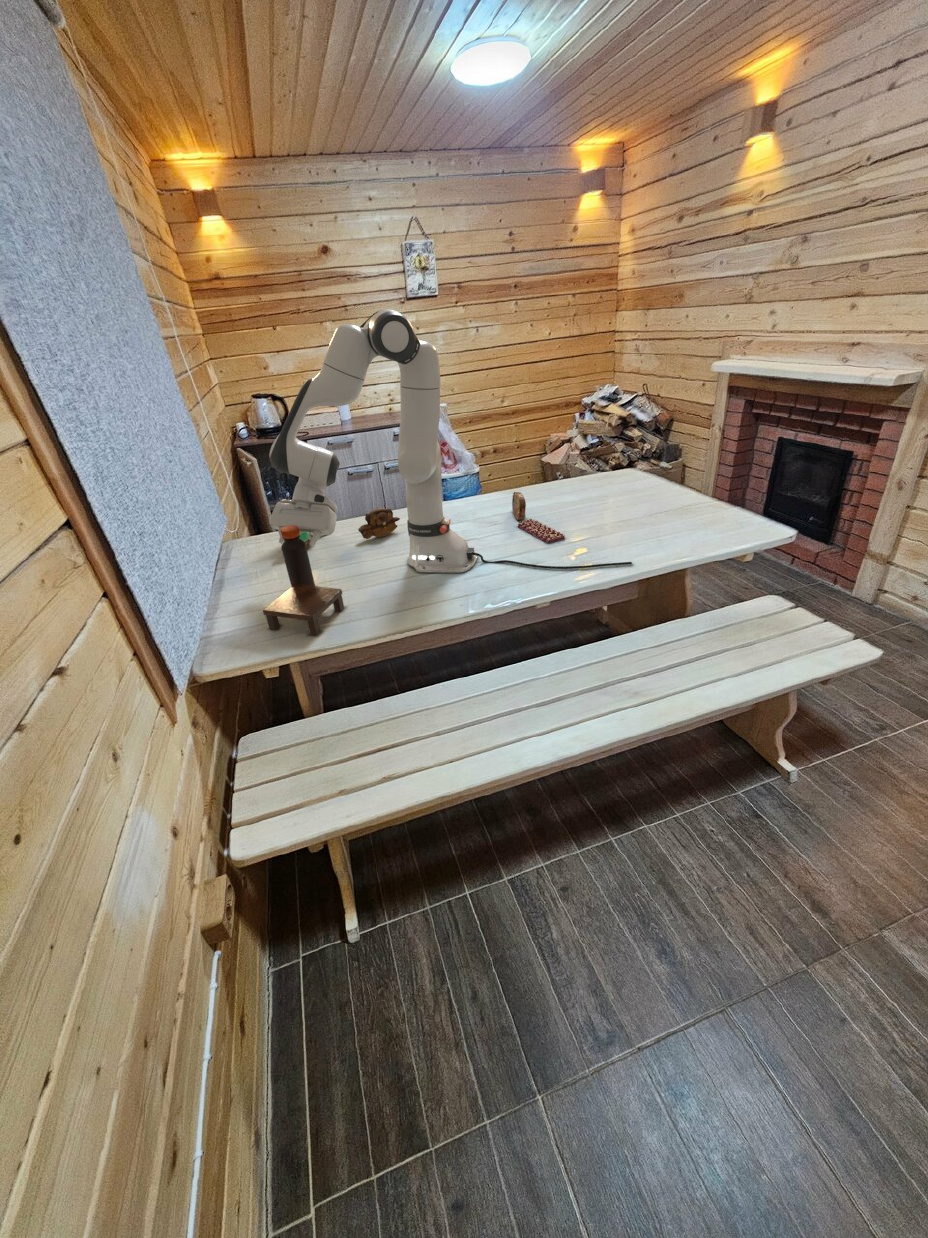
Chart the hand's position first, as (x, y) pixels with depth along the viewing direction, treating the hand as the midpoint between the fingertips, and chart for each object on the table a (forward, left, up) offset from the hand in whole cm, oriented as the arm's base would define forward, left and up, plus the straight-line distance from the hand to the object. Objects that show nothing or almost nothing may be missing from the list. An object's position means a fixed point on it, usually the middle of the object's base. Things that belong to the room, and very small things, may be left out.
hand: (296, 544), depth 151 cm
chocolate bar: (-61, -56, -14) cm, 85 cm away
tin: (-50, -71, -15) cm, 88 cm away
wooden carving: (-5, -42, -15) cm, 45 cm away
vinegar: (0, +2, -14) cm, 15 cm away
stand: (-10, +16, -14) cm, 24 cm away
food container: (+18, -26, -15) cm, 35 cm away
